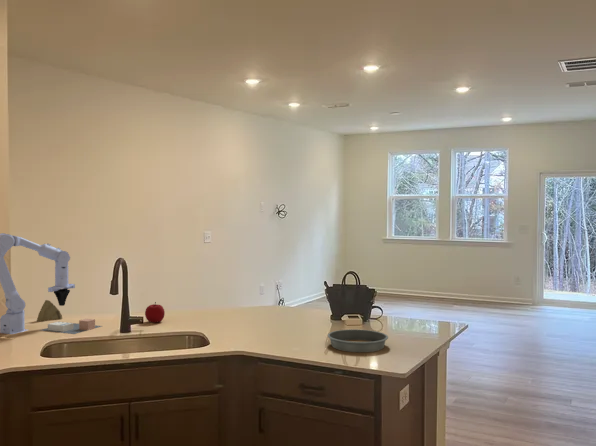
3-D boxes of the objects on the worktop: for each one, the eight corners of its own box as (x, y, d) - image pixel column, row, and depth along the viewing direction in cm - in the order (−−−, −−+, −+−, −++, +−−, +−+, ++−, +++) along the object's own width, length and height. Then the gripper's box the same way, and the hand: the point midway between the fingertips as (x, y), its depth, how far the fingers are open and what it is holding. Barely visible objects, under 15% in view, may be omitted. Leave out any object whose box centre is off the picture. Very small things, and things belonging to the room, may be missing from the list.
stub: (88, 330, 251) (88, 321, 251) (79, 329, 253) (79, 320, 252) (95, 328, 255) (95, 319, 255) (86, 327, 257) (86, 318, 257)
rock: (68, 314, 279) (52, 310, 283) (62, 302, 274) (46, 298, 277) (54, 330, 272) (38, 326, 275) (47, 318, 266) (31, 314, 270)
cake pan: (399, 345, 229) (399, 334, 229) (365, 357, 211) (365, 345, 211) (351, 336, 246) (351, 326, 245) (315, 346, 227) (315, 335, 227)
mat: (74, 335, 243) (74, 334, 243) (39, 331, 250) (39, 330, 250) (102, 327, 260) (102, 326, 260) (68, 323, 267) (68, 322, 267)
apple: (167, 320, 277) (167, 300, 277) (160, 324, 268) (160, 303, 268) (149, 319, 278) (149, 299, 278) (142, 323, 269) (142, 302, 269)
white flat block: (63, 331, 248) (63, 325, 248) (47, 329, 251) (47, 323, 251) (73, 328, 253) (73, 322, 253) (57, 327, 256) (57, 321, 256)
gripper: (56, 278, 252) (56, 308, 252) (79, 275, 266) (79, 303, 266) (44, 277, 255) (44, 307, 255) (68, 274, 268) (68, 302, 268)
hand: (61, 305), depth 261 cm, fingers closed
